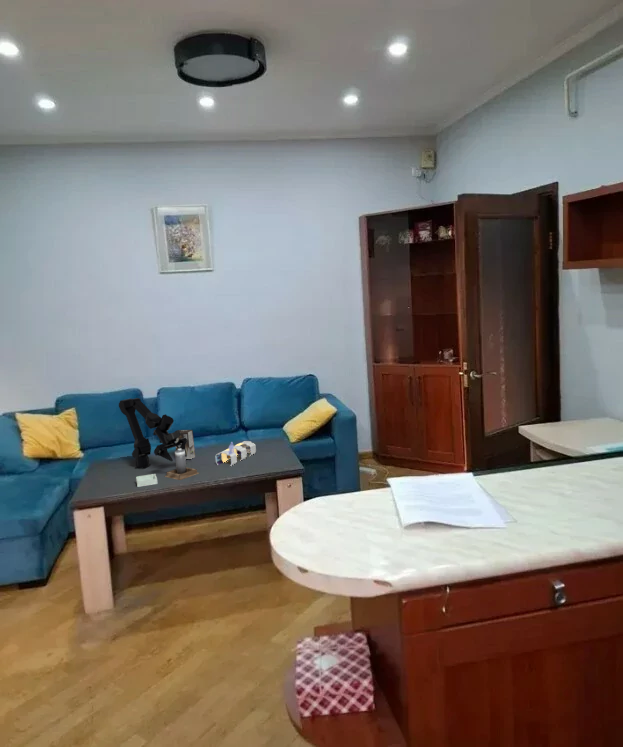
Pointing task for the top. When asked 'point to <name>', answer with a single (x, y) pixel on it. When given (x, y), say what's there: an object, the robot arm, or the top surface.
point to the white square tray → (146, 480)
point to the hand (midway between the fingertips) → (179, 458)
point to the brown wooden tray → (174, 474)
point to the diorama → (236, 452)
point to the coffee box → (188, 443)
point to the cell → (180, 461)
